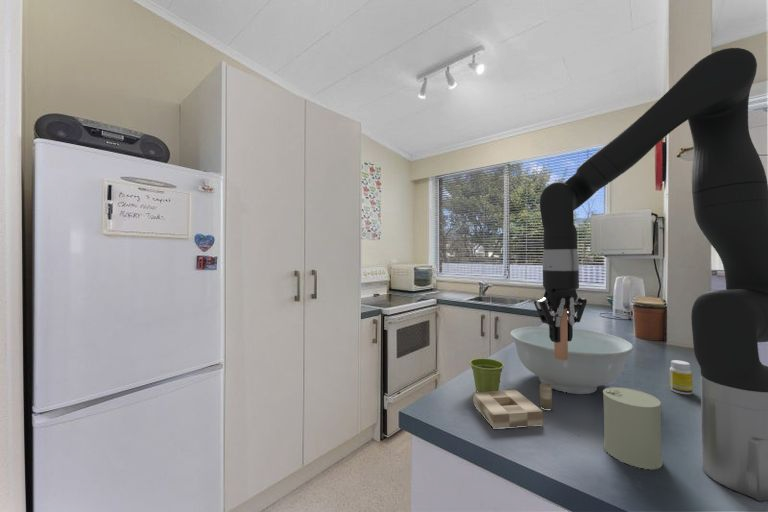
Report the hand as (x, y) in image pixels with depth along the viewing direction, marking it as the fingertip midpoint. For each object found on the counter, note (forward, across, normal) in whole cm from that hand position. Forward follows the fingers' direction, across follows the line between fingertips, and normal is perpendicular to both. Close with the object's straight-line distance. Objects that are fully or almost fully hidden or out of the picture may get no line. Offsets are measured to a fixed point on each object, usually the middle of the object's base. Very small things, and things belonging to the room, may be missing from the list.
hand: (561, 340), depth 75 cm
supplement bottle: (+20, +46, +3) cm, 50 cm away
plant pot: (+20, -8, +19) cm, 29 cm away
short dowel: (+20, +2, +7) cm, 21 cm away
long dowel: (+4, 0, 0) cm, 4 cm away
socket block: (+19, -11, +7) cm, 23 cm away
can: (+20, +3, -14) cm, 24 cm away
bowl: (+20, +20, +18) cm, 33 cm away
